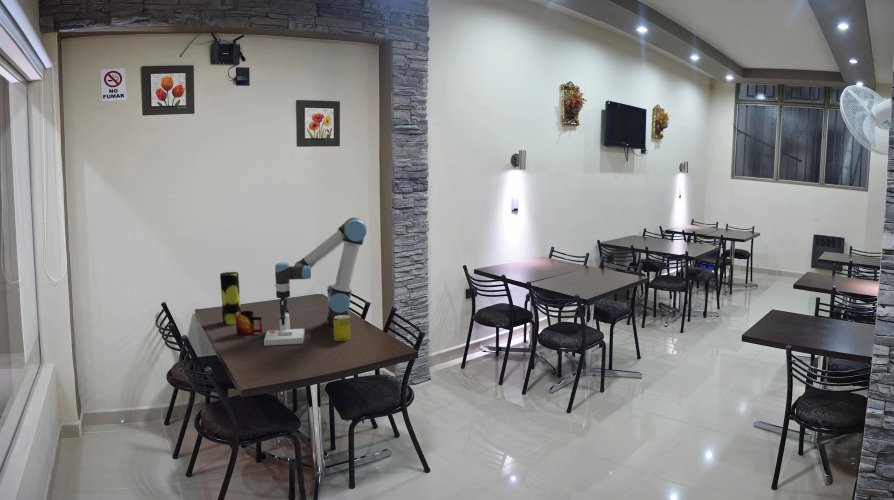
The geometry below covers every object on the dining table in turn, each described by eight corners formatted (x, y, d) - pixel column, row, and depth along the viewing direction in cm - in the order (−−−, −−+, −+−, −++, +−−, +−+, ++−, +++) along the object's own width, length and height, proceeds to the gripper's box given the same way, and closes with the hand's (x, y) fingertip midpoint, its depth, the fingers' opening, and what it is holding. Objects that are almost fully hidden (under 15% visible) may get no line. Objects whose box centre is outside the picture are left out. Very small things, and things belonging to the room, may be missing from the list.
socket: (304, 333, 349) (304, 327, 348) (302, 343, 331) (302, 336, 331) (267, 335, 345) (267, 329, 345) (264, 345, 328) (263, 339, 327)
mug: (262, 334, 348) (261, 313, 346) (236, 336, 344) (235, 316, 342) (262, 329, 357) (260, 309, 355) (236, 332, 353) (235, 311, 351)
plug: (289, 330, 354) (289, 314, 352) (289, 332, 350) (288, 315, 349) (280, 331, 353) (280, 314, 352) (280, 333, 349) (279, 316, 348)
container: (226, 325, 365) (223, 276, 360) (220, 322, 373) (217, 273, 368) (244, 322, 371) (241, 273, 367) (237, 318, 380) (234, 271, 375)
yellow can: (354, 337, 342) (353, 316, 340) (343, 341, 334) (343, 320, 332) (341, 335, 346) (340, 314, 344) (330, 339, 338) (329, 318, 336)
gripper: (278, 285, 359) (279, 321, 363) (274, 295, 335) (275, 333, 338) (291, 285, 360) (292, 320, 364) (288, 295, 336) (289, 332, 340)
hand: (284, 326), depth 351 cm, fingers open, 13 cm apart
